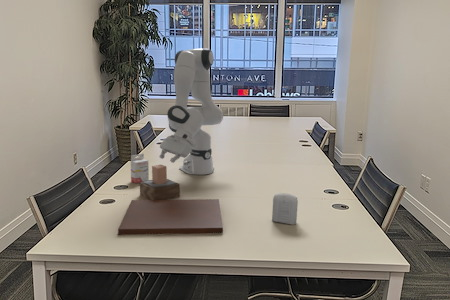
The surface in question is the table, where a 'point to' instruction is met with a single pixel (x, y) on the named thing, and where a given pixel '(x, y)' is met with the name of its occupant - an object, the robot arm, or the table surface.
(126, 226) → the brown wooden board
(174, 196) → the walnut pedestal
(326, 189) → the table surface
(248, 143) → the table surface
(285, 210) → the grey tombstone
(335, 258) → the table surface
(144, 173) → the ink cartridge box
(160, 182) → the terracotta block
